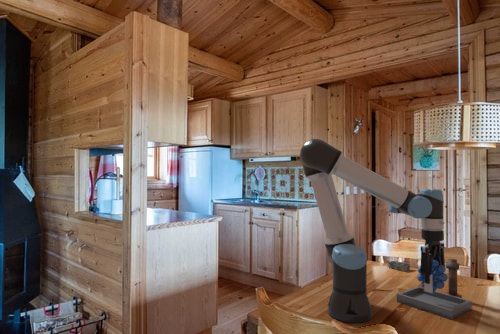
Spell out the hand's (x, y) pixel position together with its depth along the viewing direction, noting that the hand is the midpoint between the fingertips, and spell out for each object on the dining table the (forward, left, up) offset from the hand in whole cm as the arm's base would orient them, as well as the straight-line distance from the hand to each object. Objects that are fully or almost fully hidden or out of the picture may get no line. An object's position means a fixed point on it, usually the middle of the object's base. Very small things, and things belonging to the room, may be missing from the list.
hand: (433, 289), depth 125 cm
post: (+14, -1, -6) cm, 15 cm away
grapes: (0, 0, -1) cm, 1 cm away
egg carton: (+36, +35, -6) cm, 51 cm away
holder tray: (0, 0, -6) cm, 6 cm away
